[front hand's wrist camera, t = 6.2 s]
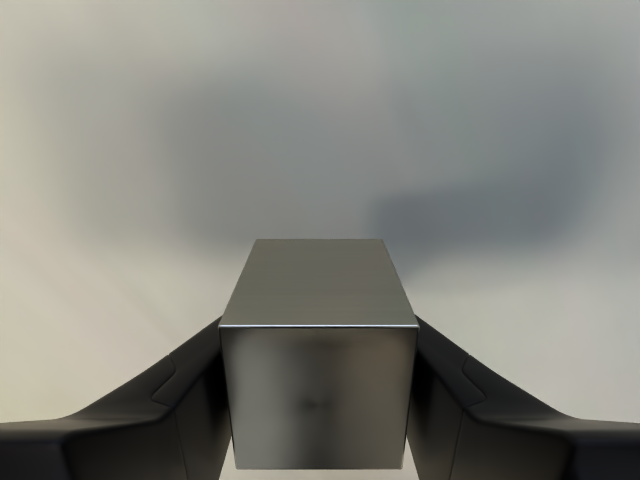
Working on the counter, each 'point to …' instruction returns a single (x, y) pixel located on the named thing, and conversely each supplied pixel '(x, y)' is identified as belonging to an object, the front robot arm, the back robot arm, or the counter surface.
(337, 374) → the block
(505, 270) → the counter surface
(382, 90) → the counter surface
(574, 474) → the front robot arm
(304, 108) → the counter surface
